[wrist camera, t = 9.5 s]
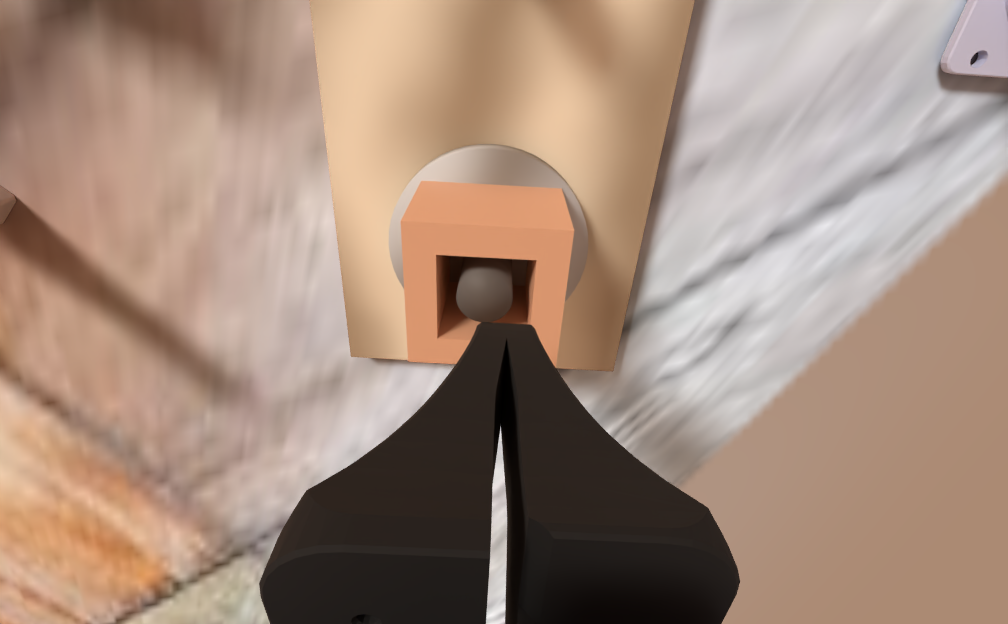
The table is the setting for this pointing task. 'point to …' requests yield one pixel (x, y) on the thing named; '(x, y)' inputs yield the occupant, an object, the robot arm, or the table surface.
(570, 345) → the board
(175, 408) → the table surface
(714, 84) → the table surface
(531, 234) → the collar
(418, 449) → the robot arm
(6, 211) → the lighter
